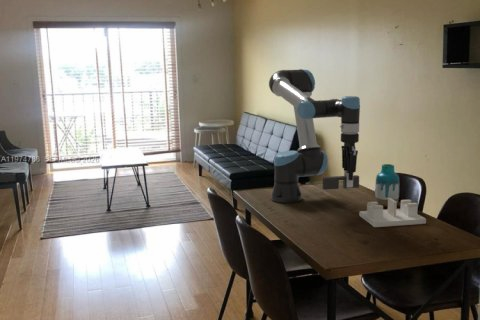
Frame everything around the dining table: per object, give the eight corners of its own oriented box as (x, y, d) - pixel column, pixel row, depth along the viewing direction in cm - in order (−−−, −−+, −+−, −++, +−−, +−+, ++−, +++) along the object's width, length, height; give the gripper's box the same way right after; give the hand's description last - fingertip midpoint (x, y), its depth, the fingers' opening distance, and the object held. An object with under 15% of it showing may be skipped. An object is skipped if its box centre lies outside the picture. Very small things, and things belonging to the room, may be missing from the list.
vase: (390, 210, 223) (391, 168, 219) (370, 205, 230) (371, 165, 227) (403, 205, 229) (404, 164, 226) (383, 201, 237) (384, 162, 234)
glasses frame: (322, 188, 217) (322, 177, 216) (356, 186, 219) (357, 175, 218) (324, 189, 215) (324, 178, 214) (358, 187, 217) (359, 176, 216)
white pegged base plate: (359, 215, 216) (359, 196, 214) (407, 212, 219) (407, 193, 217) (374, 227, 200) (375, 206, 199) (425, 223, 203) (426, 203, 202)
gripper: (335, 130, 219) (334, 182, 224) (347, 135, 204) (346, 191, 209) (351, 130, 221) (350, 181, 225) (365, 135, 206) (363, 190, 210)
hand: (348, 186), depth 217 cm, fingers closed on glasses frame, 2 cm apart
